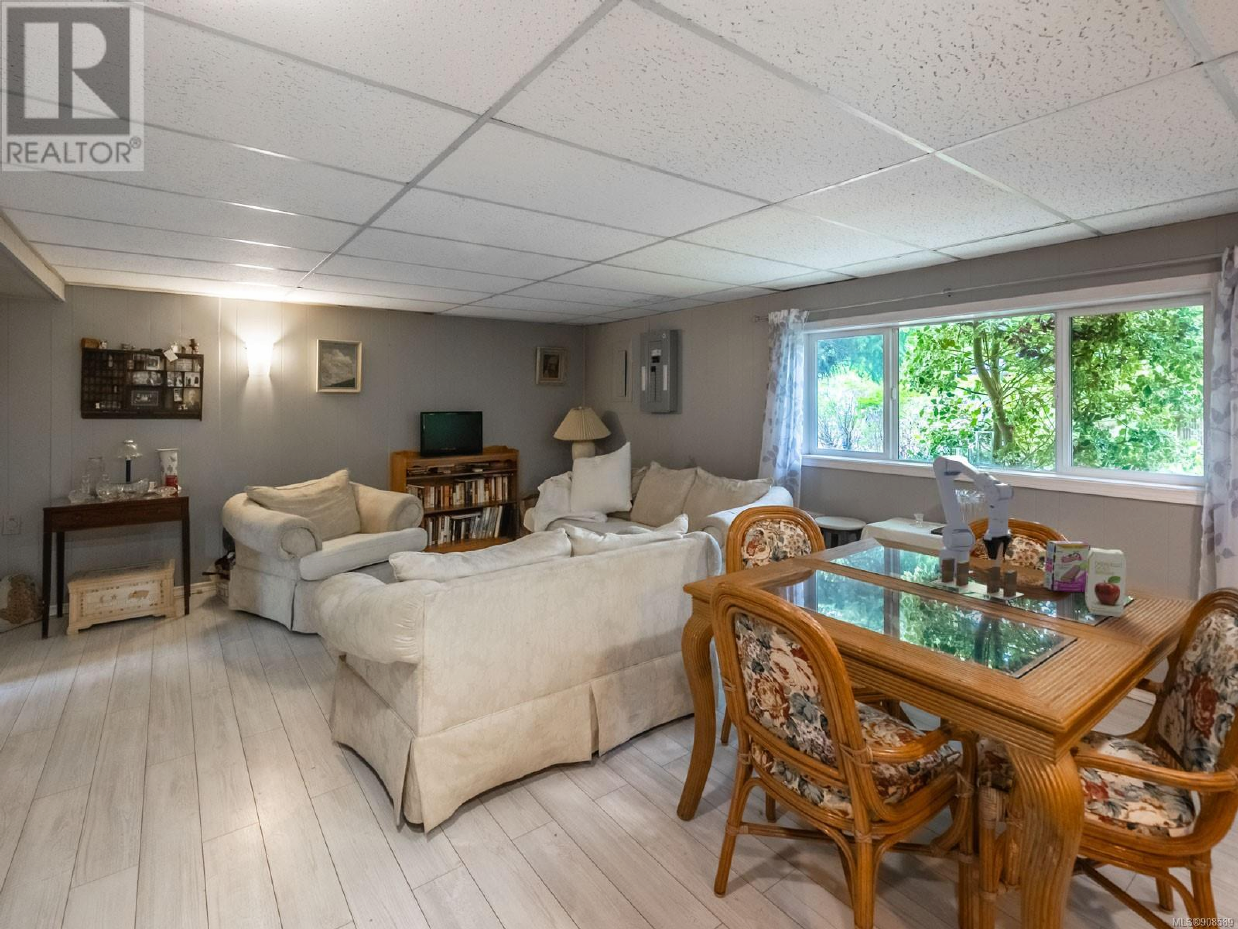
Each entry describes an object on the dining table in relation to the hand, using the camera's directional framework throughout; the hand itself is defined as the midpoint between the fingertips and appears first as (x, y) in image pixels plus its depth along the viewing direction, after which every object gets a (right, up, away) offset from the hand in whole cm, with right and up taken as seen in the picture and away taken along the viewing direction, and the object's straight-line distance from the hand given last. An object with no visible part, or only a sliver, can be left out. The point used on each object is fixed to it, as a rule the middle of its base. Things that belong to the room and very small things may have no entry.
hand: (996, 557), depth 206 cm
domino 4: (-6, -10, -7) cm, 13 cm away
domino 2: (-11, -9, +1) cm, 15 cm away
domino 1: (-14, -9, +6) cm, 17 cm away
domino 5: (-3, -11, -11) cm, 15 cm away
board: (-9, -10, -2) cm, 13 cm away
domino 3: (0, -3, 0) cm, 3 cm away
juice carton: (+15, -12, -27) cm, 33 cm away
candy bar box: (+20, -10, -4) cm, 23 cm away
